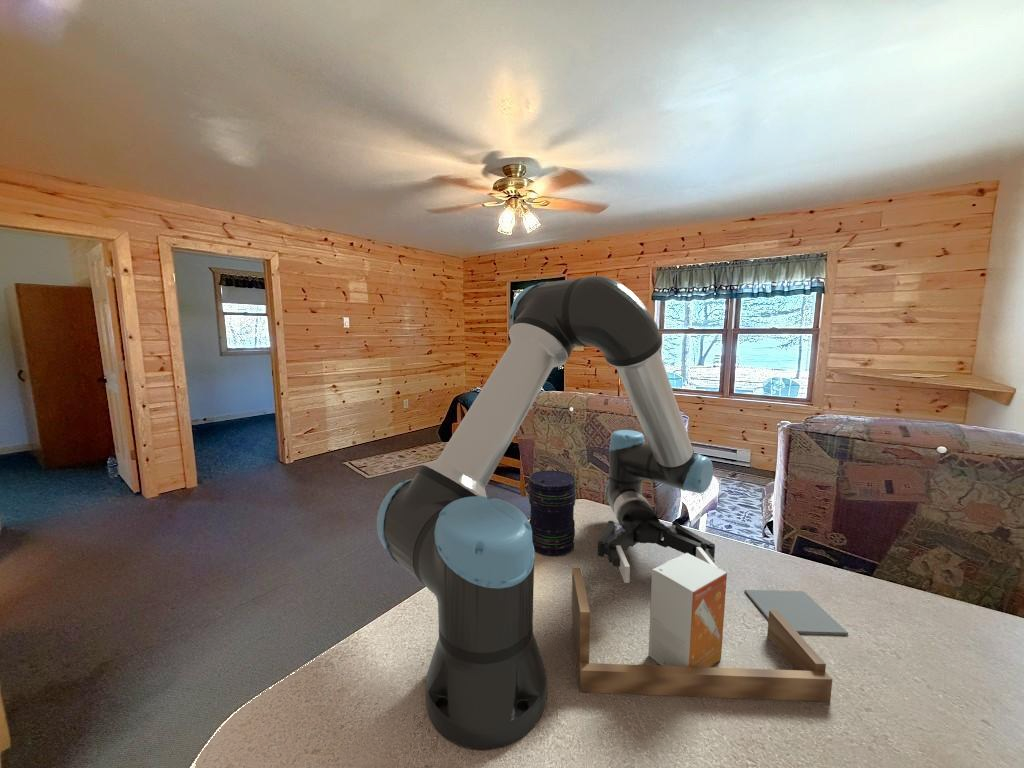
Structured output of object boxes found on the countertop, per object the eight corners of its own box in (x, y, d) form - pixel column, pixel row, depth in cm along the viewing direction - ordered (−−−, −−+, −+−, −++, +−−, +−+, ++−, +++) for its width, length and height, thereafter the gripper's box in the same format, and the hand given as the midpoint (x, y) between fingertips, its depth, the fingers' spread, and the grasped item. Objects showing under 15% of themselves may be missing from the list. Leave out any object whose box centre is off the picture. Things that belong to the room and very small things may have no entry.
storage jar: (550, 529, 95) (550, 467, 93) (584, 545, 87) (585, 478, 86) (519, 544, 88) (519, 477, 86) (553, 562, 81) (554, 490, 79)
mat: (779, 633, 61) (779, 630, 61) (744, 591, 71) (744, 589, 71) (847, 635, 61) (848, 632, 61) (803, 593, 71) (803, 591, 71)
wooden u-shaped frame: (580, 692, 51) (581, 618, 50) (571, 628, 62) (572, 567, 61) (830, 701, 50) (837, 626, 49) (775, 635, 61) (780, 572, 60)
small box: (688, 688, 52) (692, 592, 50) (647, 655, 57) (650, 568, 56) (723, 660, 56) (728, 571, 55) (681, 632, 61) (685, 551, 60)
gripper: (695, 534, 84) (751, 599, 63) (575, 532, 85) (590, 596, 64) (697, 499, 84) (754, 554, 62) (575, 498, 85) (591, 551, 64)
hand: (671, 575), depth 63 cm, fingers open, 13 cm apart
